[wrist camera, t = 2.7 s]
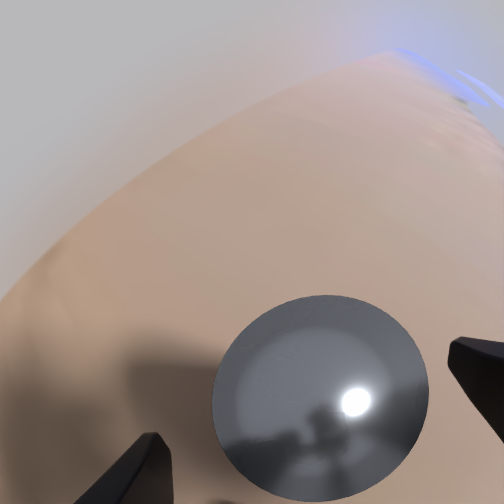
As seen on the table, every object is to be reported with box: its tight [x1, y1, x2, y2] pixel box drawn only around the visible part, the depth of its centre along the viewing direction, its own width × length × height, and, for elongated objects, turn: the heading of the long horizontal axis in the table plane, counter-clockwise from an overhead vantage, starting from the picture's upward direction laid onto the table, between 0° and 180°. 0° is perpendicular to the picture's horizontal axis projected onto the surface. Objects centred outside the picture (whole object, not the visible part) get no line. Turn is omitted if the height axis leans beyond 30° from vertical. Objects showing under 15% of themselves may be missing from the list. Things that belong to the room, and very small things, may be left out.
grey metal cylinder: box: [212, 295, 429, 502], centre depth 9 cm, size 5×5×10 cm
